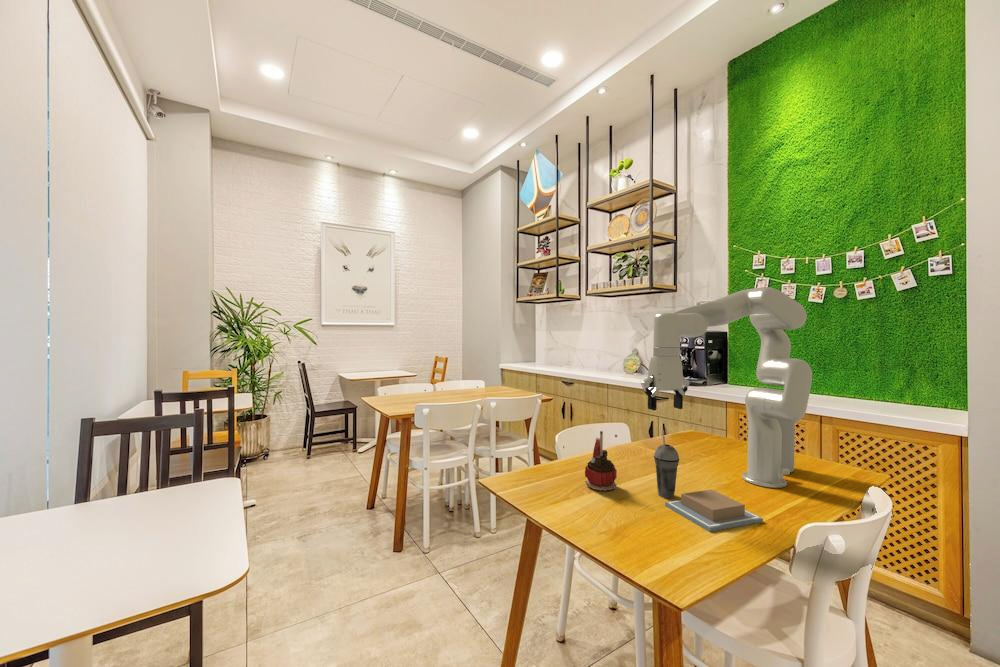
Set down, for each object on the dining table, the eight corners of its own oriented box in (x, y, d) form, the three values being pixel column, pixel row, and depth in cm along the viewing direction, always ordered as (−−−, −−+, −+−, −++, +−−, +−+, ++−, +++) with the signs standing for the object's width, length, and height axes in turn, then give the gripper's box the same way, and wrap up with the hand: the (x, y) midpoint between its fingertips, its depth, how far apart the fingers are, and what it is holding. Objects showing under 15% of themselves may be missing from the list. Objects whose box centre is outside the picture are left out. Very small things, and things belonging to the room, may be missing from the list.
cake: (611, 495, 124) (611, 436, 124) (581, 489, 128) (582, 432, 128) (619, 484, 133) (619, 429, 133) (591, 478, 138) (592, 426, 137)
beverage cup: (683, 500, 120) (683, 433, 120) (658, 500, 120) (659, 433, 120) (673, 490, 128) (673, 427, 128) (649, 490, 128) (650, 427, 128)
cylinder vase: (756, 470, 147) (756, 402, 147) (751, 461, 159) (752, 397, 158) (797, 476, 142) (798, 405, 142) (789, 465, 153) (790, 400, 153)
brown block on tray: (713, 498, 122) (713, 485, 122) (762, 522, 107) (763, 507, 107) (665, 505, 117) (665, 491, 117) (709, 531, 101) (709, 516, 101)
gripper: (680, 352, 130) (679, 405, 130) (634, 352, 125) (633, 407, 125) (698, 354, 123) (697, 410, 123) (651, 353, 117) (649, 412, 117)
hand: (665, 408), depth 124 cm, fingers open, 9 cm apart
